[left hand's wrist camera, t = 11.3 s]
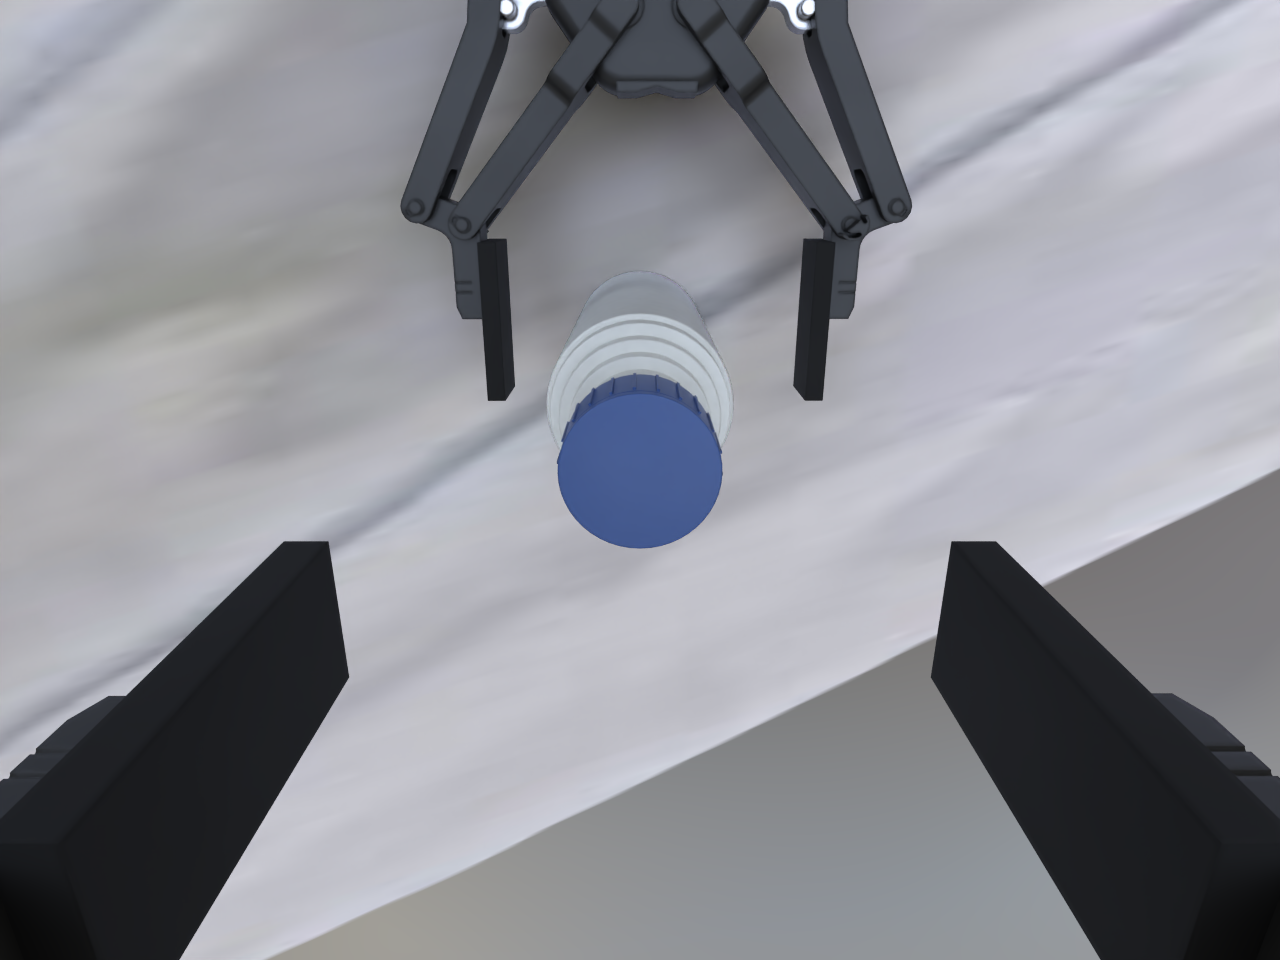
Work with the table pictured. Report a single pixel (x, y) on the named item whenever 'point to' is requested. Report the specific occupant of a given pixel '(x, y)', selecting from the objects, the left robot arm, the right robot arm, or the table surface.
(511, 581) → the table surface
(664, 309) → the bottle
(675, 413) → the cap
